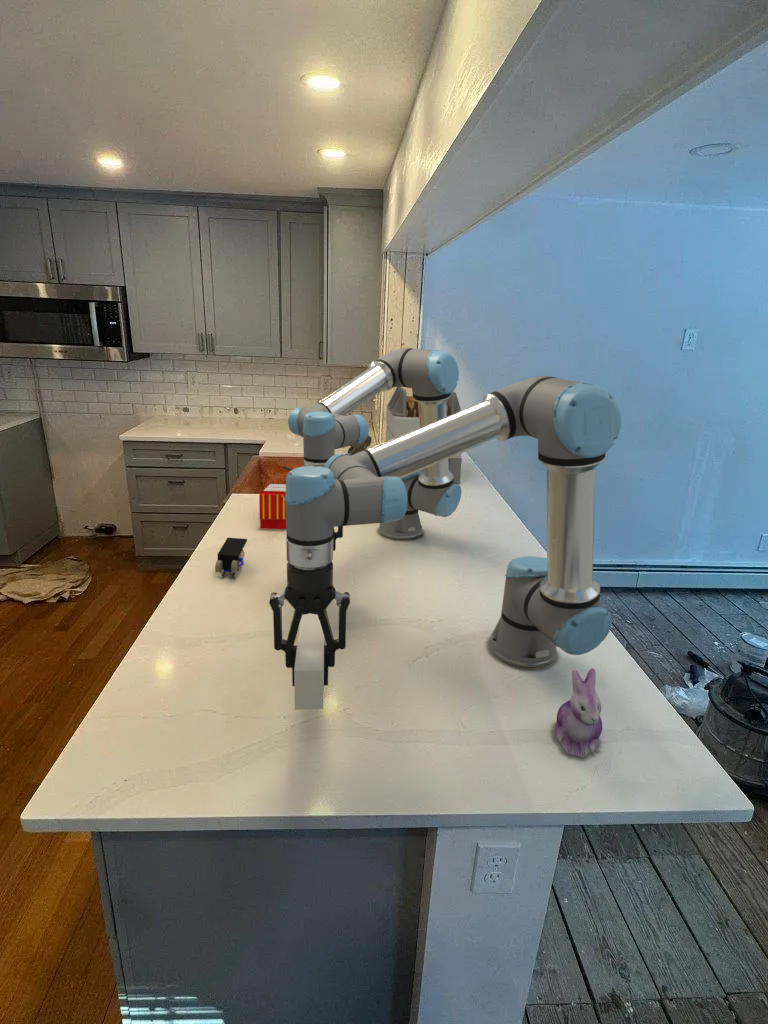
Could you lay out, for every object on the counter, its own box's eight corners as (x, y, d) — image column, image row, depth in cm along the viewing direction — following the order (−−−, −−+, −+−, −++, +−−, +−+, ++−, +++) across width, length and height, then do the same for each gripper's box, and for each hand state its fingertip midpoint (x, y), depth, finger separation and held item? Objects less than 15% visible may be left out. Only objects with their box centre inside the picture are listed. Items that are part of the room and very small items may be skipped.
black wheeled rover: (238, 584, 162) (249, 557, 175) (236, 562, 158) (247, 536, 172) (215, 584, 161) (227, 556, 175) (212, 561, 158) (225, 535, 171)
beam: (311, 553, 154) (311, 527, 152) (328, 553, 155) (328, 527, 152) (294, 709, 94) (294, 670, 91) (323, 709, 94) (323, 670, 92)
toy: (299, 479, 223) (289, 492, 194) (299, 512, 226) (289, 530, 197) (268, 478, 223) (253, 491, 193) (268, 512, 225) (254, 529, 196)
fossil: (347, 441, 314) (368, 426, 309) (358, 454, 317) (379, 439, 312) (341, 455, 294) (363, 439, 289) (352, 469, 297) (375, 453, 292)
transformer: (382, 463, 289) (386, 382, 275) (445, 464, 293) (451, 384, 279) (390, 482, 257) (394, 392, 243) (460, 483, 261) (468, 394, 247)
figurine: (579, 767, 100) (594, 696, 95) (539, 730, 108) (551, 663, 103) (617, 750, 104) (633, 682, 99) (576, 716, 112) (588, 651, 107)
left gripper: (281, 480, 135) (283, 568, 143) (355, 480, 137) (353, 567, 145) (283, 471, 142) (285, 555, 150) (354, 472, 144) (352, 555, 152)
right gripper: (251, 571, 88) (257, 695, 96) (365, 571, 90) (361, 693, 98) (257, 551, 95) (262, 669, 103) (363, 552, 97) (359, 667, 105)
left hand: (319, 561), depth 148 cm, fingers closed on beam, 5 cm apart
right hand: (310, 680), depth 100 cm, fingers closed on beam, 5 cm apart
